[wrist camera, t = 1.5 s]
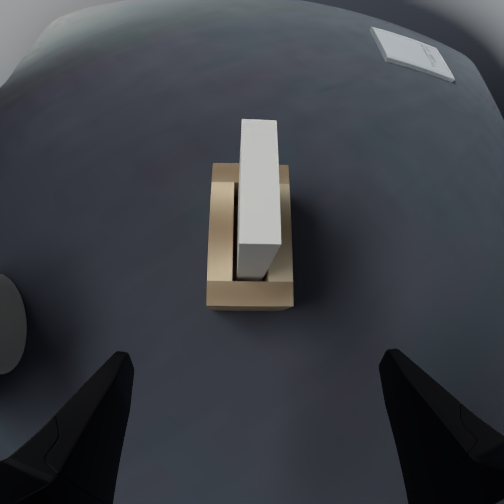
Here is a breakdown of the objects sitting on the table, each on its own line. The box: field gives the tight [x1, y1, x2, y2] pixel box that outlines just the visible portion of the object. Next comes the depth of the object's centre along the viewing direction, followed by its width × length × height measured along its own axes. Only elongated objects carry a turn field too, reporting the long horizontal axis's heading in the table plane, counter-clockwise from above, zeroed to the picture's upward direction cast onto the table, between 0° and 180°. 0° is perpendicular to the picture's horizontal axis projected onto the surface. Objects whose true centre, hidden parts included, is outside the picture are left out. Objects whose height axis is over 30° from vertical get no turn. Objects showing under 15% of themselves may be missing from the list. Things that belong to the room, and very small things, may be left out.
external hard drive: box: [370, 27, 455, 83], centre depth 32 cm, size 2×8×12 cm
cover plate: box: [237, 119, 281, 282], centre depth 18 cm, size 6×2×11 cm, turn 0°
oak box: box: [206, 163, 294, 311], centre depth 21 cm, size 10×5×4 cm, turn 0°
